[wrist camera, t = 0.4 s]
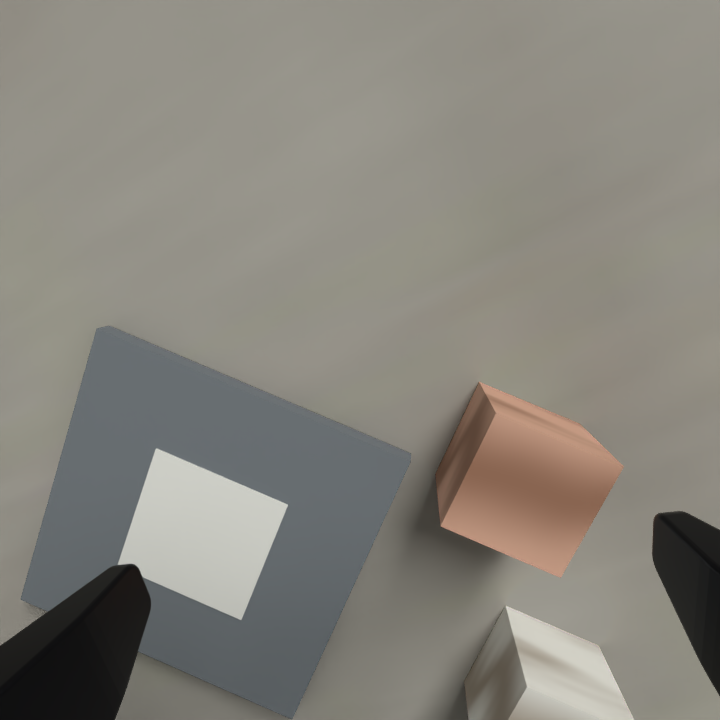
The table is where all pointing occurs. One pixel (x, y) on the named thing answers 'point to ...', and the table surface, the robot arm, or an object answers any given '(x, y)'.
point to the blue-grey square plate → (213, 515)
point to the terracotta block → (523, 480)
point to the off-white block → (540, 675)
